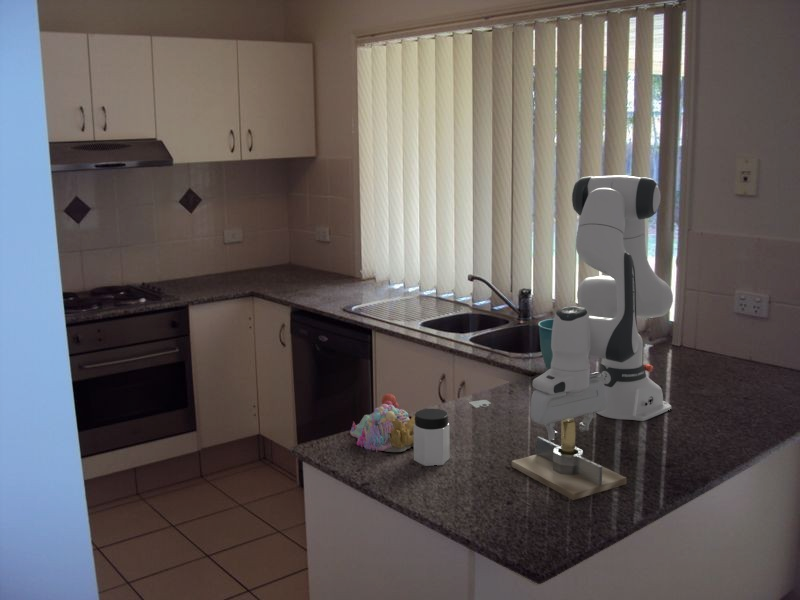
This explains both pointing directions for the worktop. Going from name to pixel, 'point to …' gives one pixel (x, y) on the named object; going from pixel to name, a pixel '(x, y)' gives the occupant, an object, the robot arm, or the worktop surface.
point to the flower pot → (546, 341)
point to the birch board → (566, 478)
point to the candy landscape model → (385, 428)
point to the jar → (431, 437)
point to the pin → (568, 436)
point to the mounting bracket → (480, 403)
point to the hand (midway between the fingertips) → (568, 434)
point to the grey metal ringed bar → (569, 462)
